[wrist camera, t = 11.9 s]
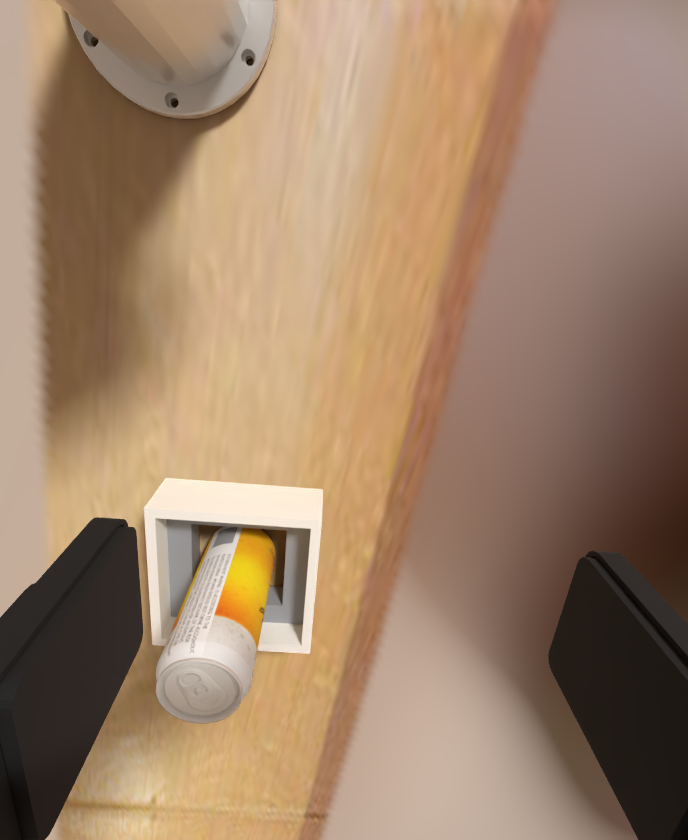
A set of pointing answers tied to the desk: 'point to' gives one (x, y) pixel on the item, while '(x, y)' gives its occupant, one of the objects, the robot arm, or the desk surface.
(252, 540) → the beer can
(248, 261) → the desk surface
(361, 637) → the desk surface
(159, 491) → the socket box
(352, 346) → the desk surface
